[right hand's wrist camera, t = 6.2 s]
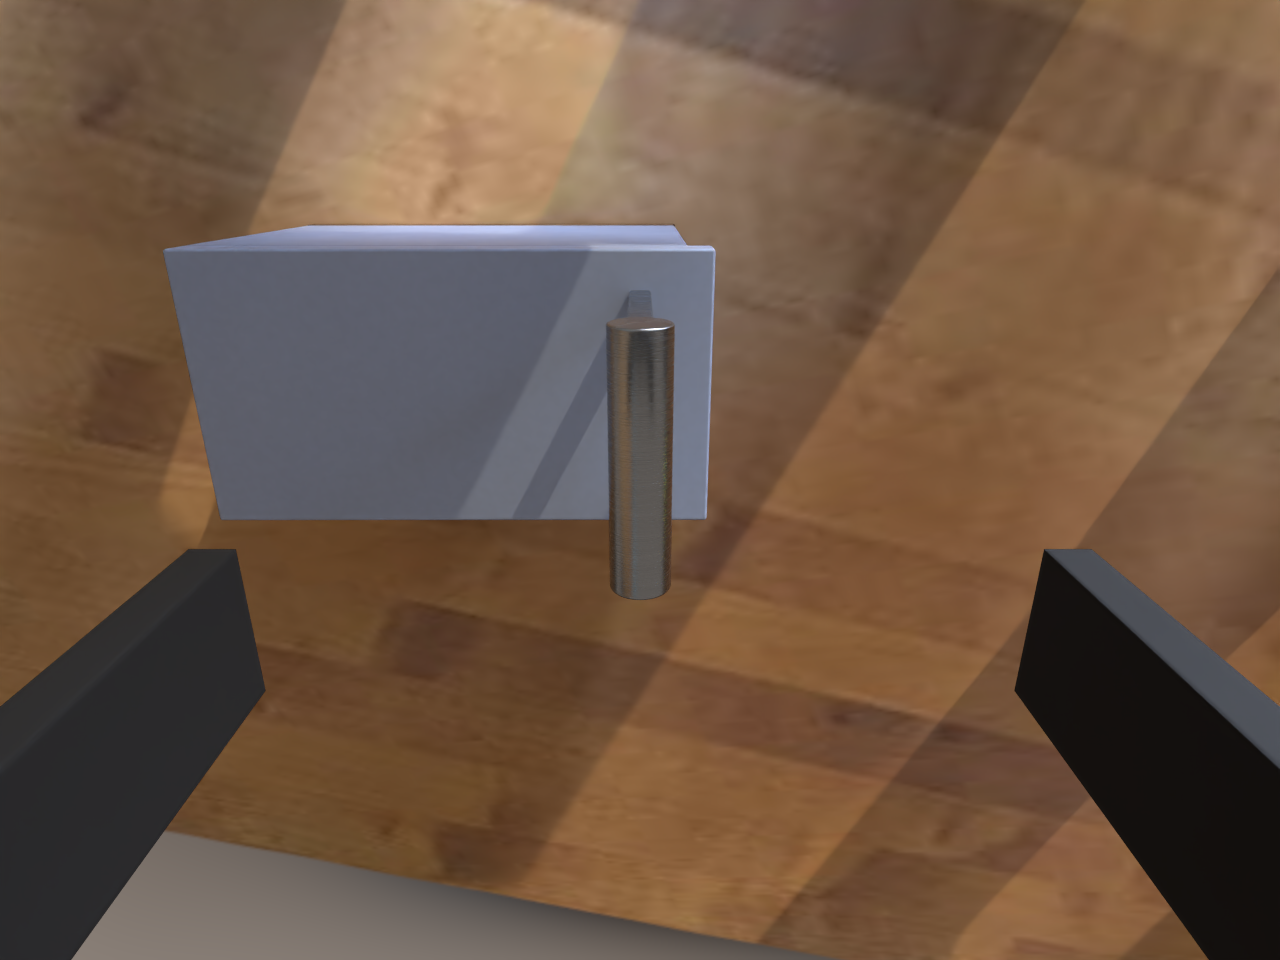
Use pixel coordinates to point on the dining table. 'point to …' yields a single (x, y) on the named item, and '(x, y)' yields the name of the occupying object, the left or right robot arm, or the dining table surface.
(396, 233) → the chest
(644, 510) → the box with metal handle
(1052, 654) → the right robot arm
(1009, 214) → the dining table surface
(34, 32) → the dining table surface
